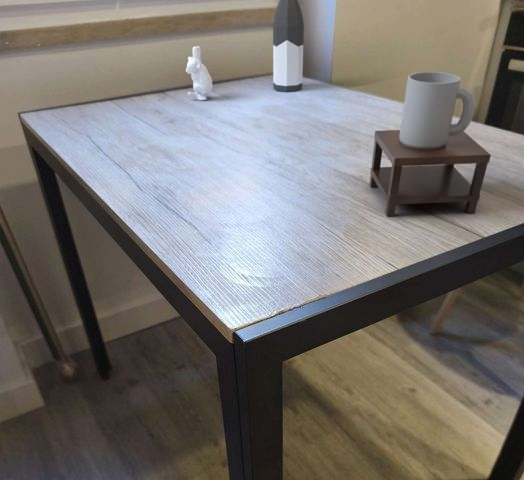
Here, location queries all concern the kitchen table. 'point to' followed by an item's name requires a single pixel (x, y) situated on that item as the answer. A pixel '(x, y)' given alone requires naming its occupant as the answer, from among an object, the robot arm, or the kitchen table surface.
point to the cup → (433, 109)
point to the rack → (427, 171)
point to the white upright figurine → (199, 76)
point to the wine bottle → (288, 46)
